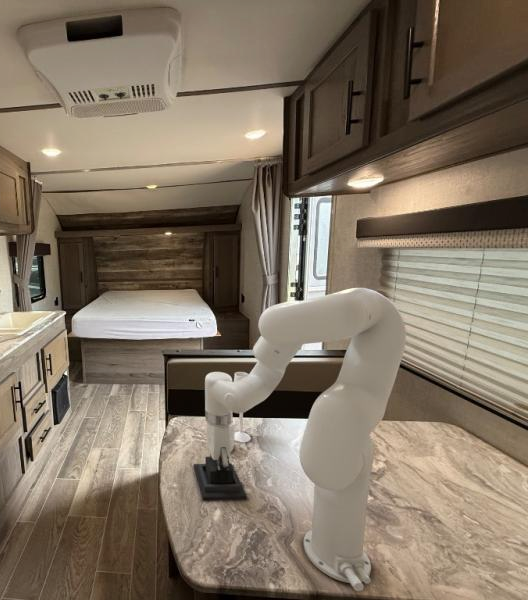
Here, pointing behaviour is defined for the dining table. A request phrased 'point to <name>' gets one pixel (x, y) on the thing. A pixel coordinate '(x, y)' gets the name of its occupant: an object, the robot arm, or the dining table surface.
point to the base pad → (218, 486)
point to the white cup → (232, 434)
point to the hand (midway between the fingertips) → (218, 471)
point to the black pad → (211, 471)
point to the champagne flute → (241, 415)
